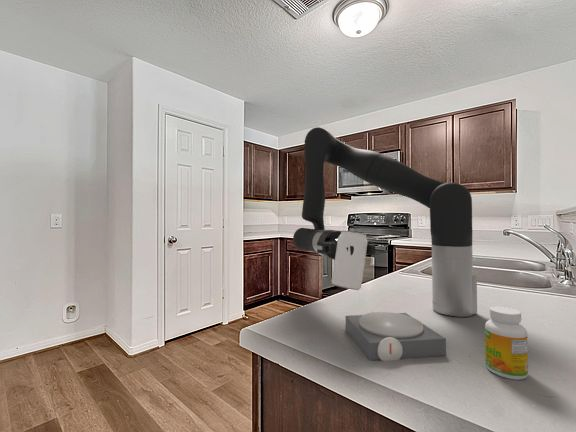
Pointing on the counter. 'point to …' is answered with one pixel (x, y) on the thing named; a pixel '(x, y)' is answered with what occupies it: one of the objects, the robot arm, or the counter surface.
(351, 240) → the can
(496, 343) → the supplement bottle
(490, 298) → the counter surface
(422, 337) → the scale
